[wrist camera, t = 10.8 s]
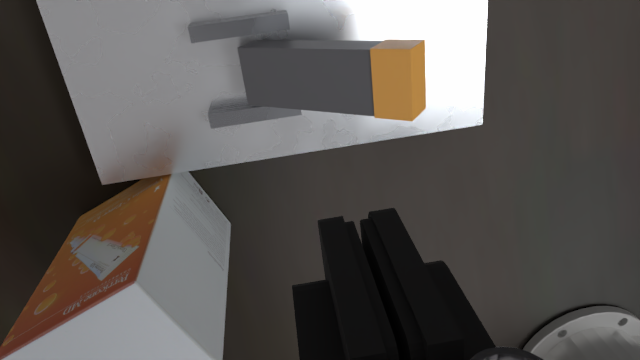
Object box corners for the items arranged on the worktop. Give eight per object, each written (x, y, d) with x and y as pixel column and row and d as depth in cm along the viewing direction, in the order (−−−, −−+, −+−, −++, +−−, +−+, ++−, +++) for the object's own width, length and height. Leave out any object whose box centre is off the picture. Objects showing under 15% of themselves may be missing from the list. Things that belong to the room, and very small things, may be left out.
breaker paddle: (256, 38, 26) (425, 39, 21) (266, 95, 27) (426, 108, 22) (236, 46, 24) (410, 49, 20) (247, 106, 26) (412, 121, 21)
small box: (176, 153, 31) (136, 279, 20) (233, 223, 34) (227, 369, 23) (75, 215, 32) (-19, 370, 21) (139, 278, 35) (87, 445, 24)
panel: (469, -183, 25) (507, -204, 22) (463, 109, 33) (491, 131, 29) (14, -132, 24) (-28, -144, 20) (114, 163, 31) (96, 194, 27)
